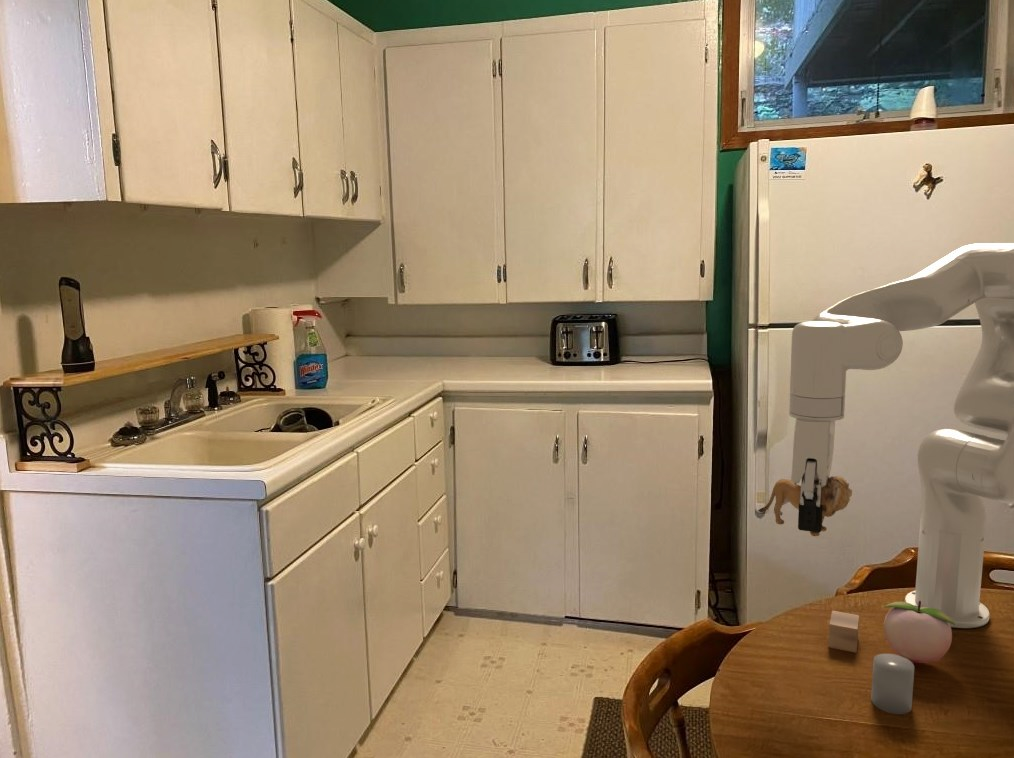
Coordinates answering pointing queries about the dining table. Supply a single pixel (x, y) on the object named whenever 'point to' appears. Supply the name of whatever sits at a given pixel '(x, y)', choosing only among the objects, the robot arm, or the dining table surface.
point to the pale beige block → (843, 631)
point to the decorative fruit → (917, 632)
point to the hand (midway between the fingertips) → (812, 521)
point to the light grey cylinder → (892, 683)
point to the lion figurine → (831, 497)
